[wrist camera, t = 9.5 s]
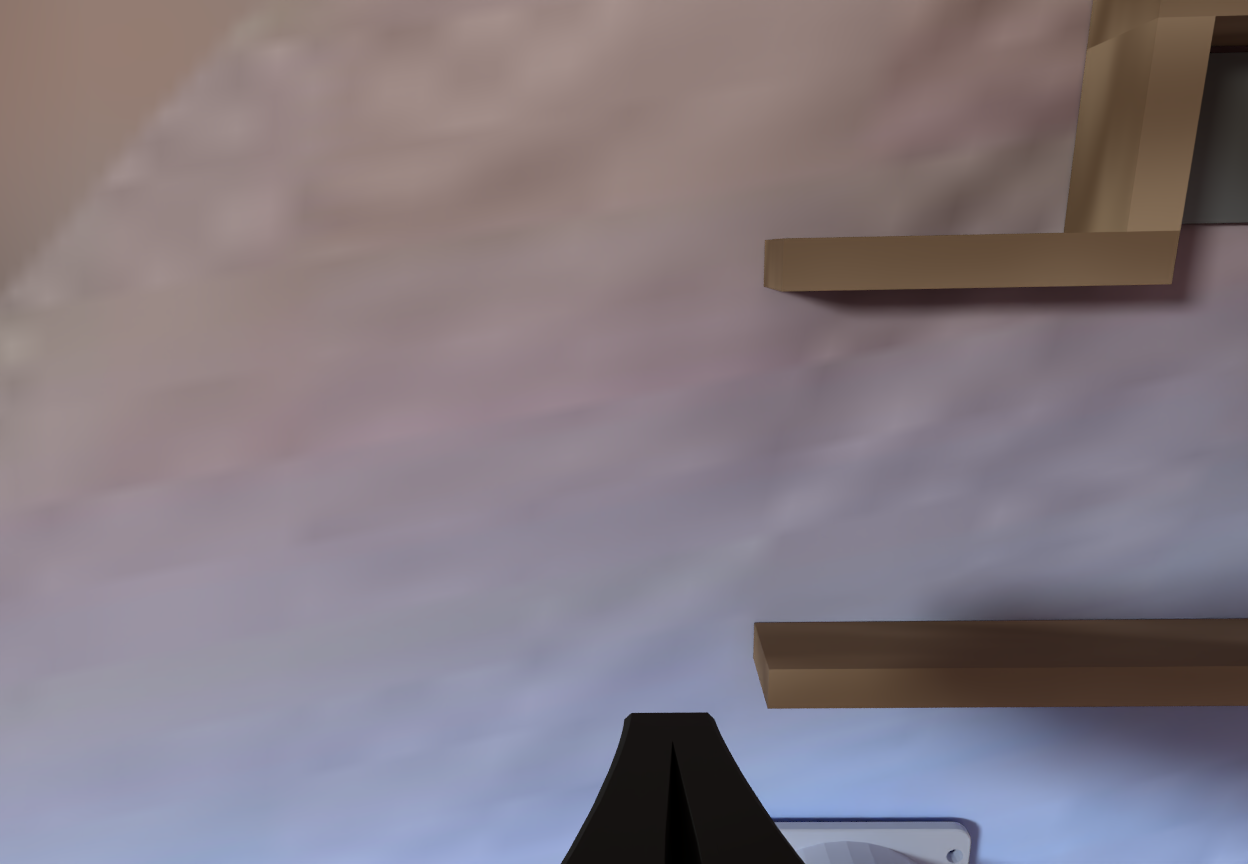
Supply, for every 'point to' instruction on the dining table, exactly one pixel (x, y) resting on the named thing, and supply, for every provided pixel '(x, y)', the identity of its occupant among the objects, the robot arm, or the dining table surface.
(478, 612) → the dining table surface
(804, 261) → the channel
